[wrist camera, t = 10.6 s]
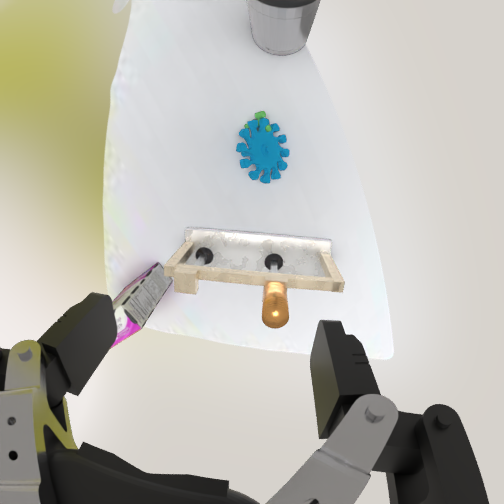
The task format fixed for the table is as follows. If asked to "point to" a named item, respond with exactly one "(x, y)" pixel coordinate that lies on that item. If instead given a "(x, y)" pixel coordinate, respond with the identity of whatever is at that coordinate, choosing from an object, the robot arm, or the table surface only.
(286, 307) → the cylinder
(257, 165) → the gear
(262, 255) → the divider frame
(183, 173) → the table surface
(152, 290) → the candy bar box
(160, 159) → the table surface
